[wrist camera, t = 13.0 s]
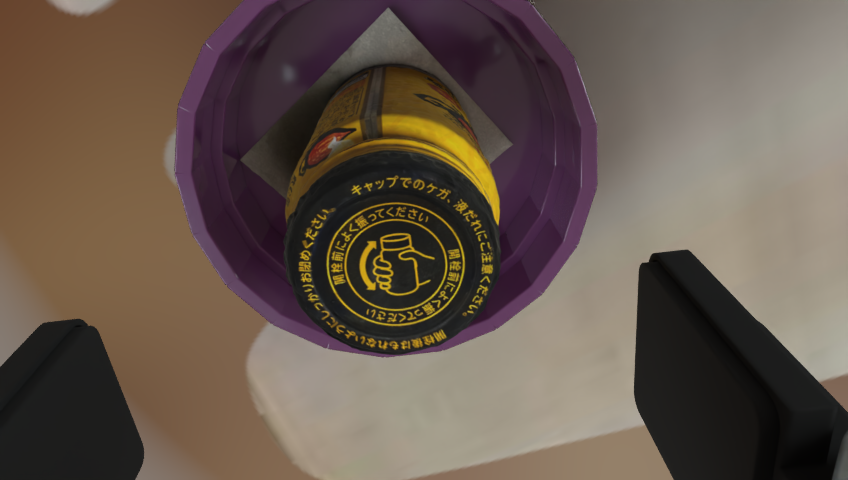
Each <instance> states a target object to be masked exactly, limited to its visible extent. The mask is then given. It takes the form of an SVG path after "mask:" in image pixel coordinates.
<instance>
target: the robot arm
mask: <svg viewBox="0 0 848 480" xmlns="http://www.w3.org/2000/svg"><path fill="white" fill-rule="evenodd" d="M634 396H635V402H636V405H637V409H638V411H639V413H640V415H641V417H642V419H643V421H644V423H645V425H646V427H647V429H648V431H649V433H650V434H651V436H652V438H653V440H654V442H655V444H656V446H657V448H658V450H659V452H660V454H661V456H662V458H663V460H664V462H665V463H666V465H667V467H668V469H669V471H670V473H671V475H672V477H673V479H674V480H848V412H847V411H846V410H845V409H844V408H843V407H842V406H841V405H840V404H839V403H838V402H837V401H836V400H835V398H833V396H832V395H831V394H830V393H829V392H828V391H827V390H826V389H825V388H824V387H823V386H822V385H821V384H820V383H819V382H818V381H817V380H816V379H815V378H814V377H813V376H812V375H811V374H810V373H809V372H808V371H807V370H806V369H805V367H804V366H803V365H802V364H801V363H800V362H799V361H798V360H797V359H796V358H795V357H794V356H793V355H792V354H791V353H790V352H789V351H788V350H787V349H786V348H785V347H784V346H783V345H782V344H781V343H780V342H779V341H778V340H777V339H776V338H775V336H774V335H773V334H772V333H771V332H770V331H769V330H768V329H767V328H766V327H765V326H764V325H763V324H761V323H760V322H759V321H757V320H756V319H755V318H754V317H753V316H752V315H751V314H750V313H749V312H748V311H747V310H746V309H745V308H744V307H743V306H742V305H741V304H740V302H739V301H738V300H737V299H736V298H735V297H734V296H733V295H732V294H731V293H730V292H729V291H728V290H727V289H726V288H725V287H724V286H723V285H722V284H721V283H720V282H719V281H718V280H717V279H716V278H715V277H714V275H713V274H712V273H711V272H710V271H709V270H708V269H707V268H706V267H705V266H704V265H703V264H702V263H701V262H700V261H699V260H698V259H697V258H696V257H695V256H694V255H693V254H692V253H691V252H690V251H689V250H679V251H670V252H661V253H653V254H652V255H651V257H650V260H649V262H647V263H642V264H641V265H640V268H639V282H638V306H637V329H636V353H635V377H634ZM143 459H144V448H143V443H142V441H141V438H140V436H139V433H138V431H137V428H136V425H135V423H134V420H133V418H132V416H131V413H130V410H129V408H128V405H127V403H126V400H125V398H124V395H123V393H122V390H121V387H120V386H119V382H118V380H117V377H116V375H115V372H114V370H113V367H112V365H111V362H110V360H109V357H108V355H107V352H106V350H105V347H104V344H103V342H102V339H101V337H100V334H99V332H98V331H97V329H96V328H95V327H93V326H88V325H87V324H86V323H85V322H84V321H83V320H81V319H72V320H65V321H55V322H47V323H43V324H42V325H40V326H39V327H38V328H37V329H36V330H35V331H34V332H33V333H32V334H31V335H30V336H29V338H27V340H26V341H25V342H24V343H23V344H22V345H21V346H20V347H19V348H18V349H17V350H16V351H15V352H14V353H13V354H12V355H11V356H10V357H9V358H8V359H7V360H6V362H5V363H4V364H3V365H2V366H1V367H0V480H135V479H136V477H137V475H138V473H139V471H140V468H141V467H142V464H143Z"/></svg>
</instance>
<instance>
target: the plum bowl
mask: <svg viewBox="0 0 848 480" xmlns="http://www.w3.org/2000/svg"><path fill="white" fill-rule="evenodd" d="M387 8H389V9H390V10H391V11H392V12H393V13H394V14H395V15H396V16H397V18H398V19H399V20H400V21H401V22H402V23H403V24H404V25H405V26H406V27H407V29H408V30H409V31H410V32H411V33H412V34H413V35H414V36H415V37H416V39H417V40H418V41H419V42H421V44H422V45H423V46H424V47H425V48H426V49H427V50H428V51H429V53H430V54H431V55H432V56H433V57H434V58H435V59H436V60H437V61H438V62H439V64H440V65H441V66H442V67H443V68H444V69H445V70H446V71H447V72H448V73H449V75H450V76H451V77H452V78H453V79H454V80H455V81H456V82H457V83H458V84H459V85H460V87H461V88H462V89H463V90H464V91H465V92H466V93H467V94H468V95H469V97H470V98H471V99H472V100H473V101H474V102H475V103H476V104H477V105H478V106H479V107H480V109H481V110H482V111H483V112H484V113H485V114H486V115H487V116H488V117H489V119H490V120H491V121H492V122H493V123H494V124H495V125H496V126H497V127H498V128H499V130H500V131H501V132H502V133H503V134H504V135H505V136H506V137H507V138H508V139H509V141H510V142H511V143H512V144H513V145H512V146H511V147H509V148H508V149H507V150H505V151H504V152H503V153H502V154H501V155H499V156H498V157H497V158H496V159H495V160H494V161H493V162H491V163H490V168H491V170H492V175H493V177H494V180H495V184H496V187H497V191H498V195H499V199H500V205H499V208H500V217H499V224H498V227H499V232H500V236H499V240H500V249H501V254H500V260H501V268H500V273H499V280H498V281H497V283H496V284H495V286H494V289H493V290H492V292H491V294H490V296H489V299H488V301H487V304H486V307H485V309H484V310H483V311H482V312H481V314H480V315H479V316H478V317H477V318H476V319H475V320H474V321H472V322H471V323H470V324H469V326H468V327H467V328H466V329H464V330H462V331H461V332H460V333H458V334H457V335H456V336H454V337H453V338H452V339H450V340H448V341H446V342H445V343H443V344H441V345H439V346H437V347H430V348H427V349H424V350H420V351H415V352H410V353H406V354H402V355H387V354H378V353H373V352H365V351H359V350H357V349H354V348H351V347H350V346H348V345H346V344H344V343H341V342H339V341H338V340H336V339H334V338H332V337H331V336H329V335H328V334H327V333H325V332H324V331H323V329H322V328H320V327H319V326H318V325H316V324H315V323H313V321H312V320H311V319H310V318H309V317H308V316H307V314H306V313H305V312H304V311H303V310H302V309H301V308H300V306H299V304H298V302H297V300H296V297H295V295H294V294H293V288H292V285H291V284H290V283H289V282H288V279H287V277H286V265H285V263H284V259H283V258H284V254H283V253H284V251H285V245H284V243H283V240H284V238H285V234H286V232H287V231H288V230H287V222H286V216H285V206H286V199H285V198H284V197H283V196H282V195H280V194H279V193H278V192H277V191H276V190H275V189H274V188H273V187H272V186H270V185H269V184H268V183H267V182H266V181H264V180H263V179H262V178H261V177H260V176H259V175H257V174H256V173H255V172H253V171H252V170H251V169H250V168H249V167H248V166H246V165H245V164H244V163H243V162H242V161H241V158H242V157H243V156H244V155H245V154H246V153H247V152H248V151H249V150H250V149H251V148H252V147H253V146H254V145H255V144H256V143H257V142H258V141H259V140H260V139H261V138H262V137H263V136H264V135H265V134H266V133H267V132H268V131H269V130H270V128H271V127H272V126H273V125H274V124H275V123H276V122H277V121H278V120H279V119H280V118H281V117H282V116H283V115H284V114H285V113H286V112H287V111H288V110H289V109H290V108H291V107H292V106H293V105H294V104H295V103H296V102H297V101H298V100H299V99H300V98H301V97H302V96H303V95H304V94H305V93H306V92H307V90H308V89H309V88H310V87H311V86H312V85H313V84H314V83H315V82H316V81H317V80H318V79H319V78H320V77H321V76H322V75H323V74H324V73H325V72H326V71H327V70H328V69H329V68H330V67H331V66H332V65H333V64H334V63H335V62H336V61H337V60H338V59H339V58H340V56H341V55H342V54H343V53H344V52H345V51H347V50H348V48H349V47H350V46H351V45H352V44H353V43H354V42H355V41H356V40H357V39H358V38H359V37H360V36H361V35H362V34H363V33H364V32H365V31H366V30H367V29H368V28H369V27H370V26H371V25H372V24H373V23H374V22H375V21H376V20H377V19H378V17H379V16H380V15H381V14H382V13H383V12H384V11H385V10H386V9H387ZM596 122H597V120H596V118H595V115H594V112H593V109H592V106H591V103H590V100H589V97H588V94H587V91H586V88H585V85H584V82H583V79H582V76H581V74H580V71H579V68H578V65H577V62H576V60H574V56H573V55H572V54H571V53H570V51H569V50H568V49H567V48H566V46H565V45H564V44H563V42H562V41H561V40H560V39H559V37H558V36H557V35H556V33H555V32H554V31H553V30H552V28H551V27H550V26H549V25H548V23H547V22H546V21H545V19H544V18H543V17H542V16H541V14H540V13H539V12H538V11H537V9H536V8H535V7H534V5H532V4H531V3H530V2H529V1H527V0H243V1H242V2H241V3H240V4H239V6H238V7H237V8H236V9H235V10H234V11H233V12H232V13H231V14H230V15H229V16H228V17H227V19H226V20H225V21H224V22H223V23H222V24H221V25H220V26H219V27H218V28H217V29H216V30H215V31H214V33H213V34H212V35H211V36H210V37H209V38H208V39H207V40H206V41H205V44H203V46H202V49H201V51H200V54H199V56H198V58H197V61H196V63H195V66H194V68H193V70H192V73H191V75H190V77H189V80H188V83H187V85H186V87H185V90H184V92H183V95H182V97H181V99H180V102H179V104H178V109H177V128H176V148H175V168H174V171H175V177H176V181H177V184H178V188H179V191H180V195H181V198H182V202H183V205H184V209H185V212H186V216H187V219H188V222H189V226H190V230H191V233H192V234H193V237H194V238H195V240H196V241H197V243H198V244H199V246H200V247H201V249H202V250H203V252H204V253H205V255H206V256H207V258H208V259H209V261H210V262H211V264H212V265H213V267H214V268H215V269H216V271H217V273H218V274H219V276H220V277H221V279H222V280H223V282H224V283H225V285H227V287H228V288H229V289H230V290H232V291H233V292H234V293H235V294H236V295H238V296H239V297H241V299H243V300H244V301H245V302H246V303H247V304H248V305H250V306H251V307H252V308H254V310H256V311H257V312H258V313H259V314H260V315H262V316H263V317H264V318H265V319H267V320H268V321H269V322H270V323H271V324H273V325H274V326H277V327H279V328H281V329H283V330H286V331H288V332H290V333H292V334H295V335H297V336H299V337H301V338H304V339H306V340H308V341H310V342H313V343H315V344H317V345H319V346H322V347H324V348H328V349H332V350H338V351H345V352H351V353H358V354H364V355H371V356H377V357H394V356H403V355H412V354H420V353H429V352H438V351H442V350H446V349H449V348H451V347H454V346H456V345H459V344H461V343H464V342H466V341H469V340H471V339H474V338H476V337H479V336H481V335H484V334H486V333H489V332H491V331H494V330H496V329H498V328H499V327H500V326H502V325H503V324H504V323H506V322H507V321H508V320H509V319H511V318H512V317H513V316H515V315H516V314H517V313H518V312H520V311H521V310H522V309H524V308H525V307H526V306H528V305H529V304H530V303H531V302H533V301H534V300H535V299H537V298H538V297H539V296H541V295H542V293H544V291H545V290H546V289H547V287H548V286H549V285H550V283H551V282H552V280H553V279H554V278H555V276H556V275H557V273H558V272H559V271H560V269H561V268H562V266H563V265H564V264H565V262H566V261H567V260H568V258H569V257H570V255H571V254H572V253H573V251H574V250H575V248H576V247H577V245H578V243H579V240H580V237H581V234H582V231H583V228H584V225H585V222H586V219H587V216H588V213H589V210H590V207H591V204H592V201H593V198H594V195H595V192H596V189H597V123H596Z"/></svg>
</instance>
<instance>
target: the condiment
mask: <svg viewBox="0 0 848 480" xmlns="http://www.w3.org/2000/svg"><path fill="white" fill-rule="evenodd" d="M512 145H513V144H512V143H511V142H510V141H509V139H508V138H507V137H506V136H505V135H504V134H503V133H502V132H501V131H500V130H499V128H498V127H497V126H496V125H495V124H494V123H493V122H492V121H491V120H490V119H489V117H488V116H487V115H486V114H485V113H484V112H483V111H482V110H481V109H480V107H479V106H478V105H477V104H476V103H475V102H474V101H473V100H472V99H471V98H470V97H469V95H468V94H467V93H466V92H465V91H464V90H463V89H462V88H461V87H460V85H459V84H458V83H457V82H456V81H455V80H454V79H453V78H452V77H451V76H450V75H449V73H448V72H447V71H446V70H445V69H444V68H443V67H442V66H441V65H440V64H439V62H438V61H437V60H436V59H435V58H434V57H433V56H432V55H431V54H430V53H429V51H428V50H427V49H426V48H425V47H424V46H423V45H422V44H421V42H419V41H418V40H417V39H416V37H415V36H414V35H413V34H412V33H411V32H410V31H409V30H408V29H407V27H406V26H405V25H404V24H403V23H402V22H401V21H400V20H399V19H398V18H397V16H396V15H395V14H394V13H393V12H392V11H391V10H390V9H389V8H387V9H386V10H385V11H384V12H383V13H382V14H381V15H380V16H379V17H378V19H377V20H376V21H375V22H374V23H373V24H372V25H371V26H370V27H369V28H368V29H367V30H366V31H365V32H364V33H363V34H362V35H361V36H360V37H359V38H358V39H357V40H356V41H355V42H354V43H353V44H352V45H351V46H350V47H349V48H348V50H347V51H345V52H344V53H343V54H342V55H341V56H340V58H339V59H338V60H337V61H336V62H335V63H334V64H333V65H332V66H331V67H330V68H329V69H328V70H327V71H326V72H325V73H324V74H323V75H322V76H321V77H320V78H319V79H318V80H317V81H316V82H315V83H314V84H313V85H312V86H311V87H310V88H309V89H308V90H307V92H306V93H305V94H304V95H303V96H302V97H301V98H300V99H299V100H298V101H297V102H296V103H295V104H294V105H293V106H292V107H291V108H290V109H289V110H288V111H287V112H286V113H285V114H284V115H283V116H282V117H281V118H280V119H279V120H278V121H277V122H276V123H275V124H274V125H273V126H272V127H271V128H270V130H269V131H268V132H267V133H266V134H265V135H264V136H263V137H262V138H261V139H260V140H259V141H258V142H257V143H256V144H255V145H254V146H253V147H252V148H251V149H250V150H249V151H248V152H247V153H246V154H245V155H244V156H243V157H242V158H241V161H242V162H243V163H244V164H245V165H246V166H248V167H249V168H250V169H251V170H252V171H253V172H255V173H256V174H257V175H259V176H260V177H261V178H262V179H263V180H264V181H266V182H267V183H268V184H269V185H270V186H272V187H273V188H274V189H275V190H276V191H277V192H278V193H279V194H280V195H282V196H283V197H284V198H285V199H286V206H285V216H286V222H287V230H288V231H287V232H286V234H285V238H284V240H283V243H284V245H285V251H284V253H283V254H284V258H283V259H284V263H285V265H286V277H287V279H288V282H289V283H290V284H291V285H292V288H293V294H294V295H295V297H296V300H297V302H298V304H299V306H300V308H301V309H302V310H303V311H304V312H305V313H306V314H307V316H308V317H309V318H310V319H311V320H312V321H313V323H315V324H316V325H318V326H319V327H320V328H322V329H323V331H324V332H325V333H327V334H328V335H329V336H331V337H332V338H334V339H336V340H338V341H339V342H341V343H344V344H346V345H348V346H350V347H351V348H354V349H357V350H359V351H365V352H373V353H378V354H387V355H402V354H406V353H410V352H415V351H420V350H424V349H427V348H430V347H437V346H439V345H441V344H443V343H445V342H446V341H448V340H450V339H452V338H453V337H454V336H456V335H457V334H458V333H460V332H461V331H462V330H464V329H466V328H467V327H468V326H469V324H470V323H471V322H472V321H474V320H475V319H476V318H477V317H478V316H479V315H480V314H481V312H482V311H483V310H484V309H485V307H486V304H487V301H488V299H489V296H490V294H491V292H492V290H493V289H494V286H495V284H496V283H497V281H498V280H499V273H500V268H501V260H500V254H501V249H500V240H499V236H500V232H499V227H498V224H499V217H500V208H499V205H500V199H499V195H498V191H497V187H496V184H495V180H494V177H493V175H492V170H491V168H490V163H491V162H493V161H494V160H495V159H496V158H497V157H498V156H499V155H501V154H502V153H503V152H504V151H505V150H507V149H508V148H509V147H511V146H512Z"/></svg>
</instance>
